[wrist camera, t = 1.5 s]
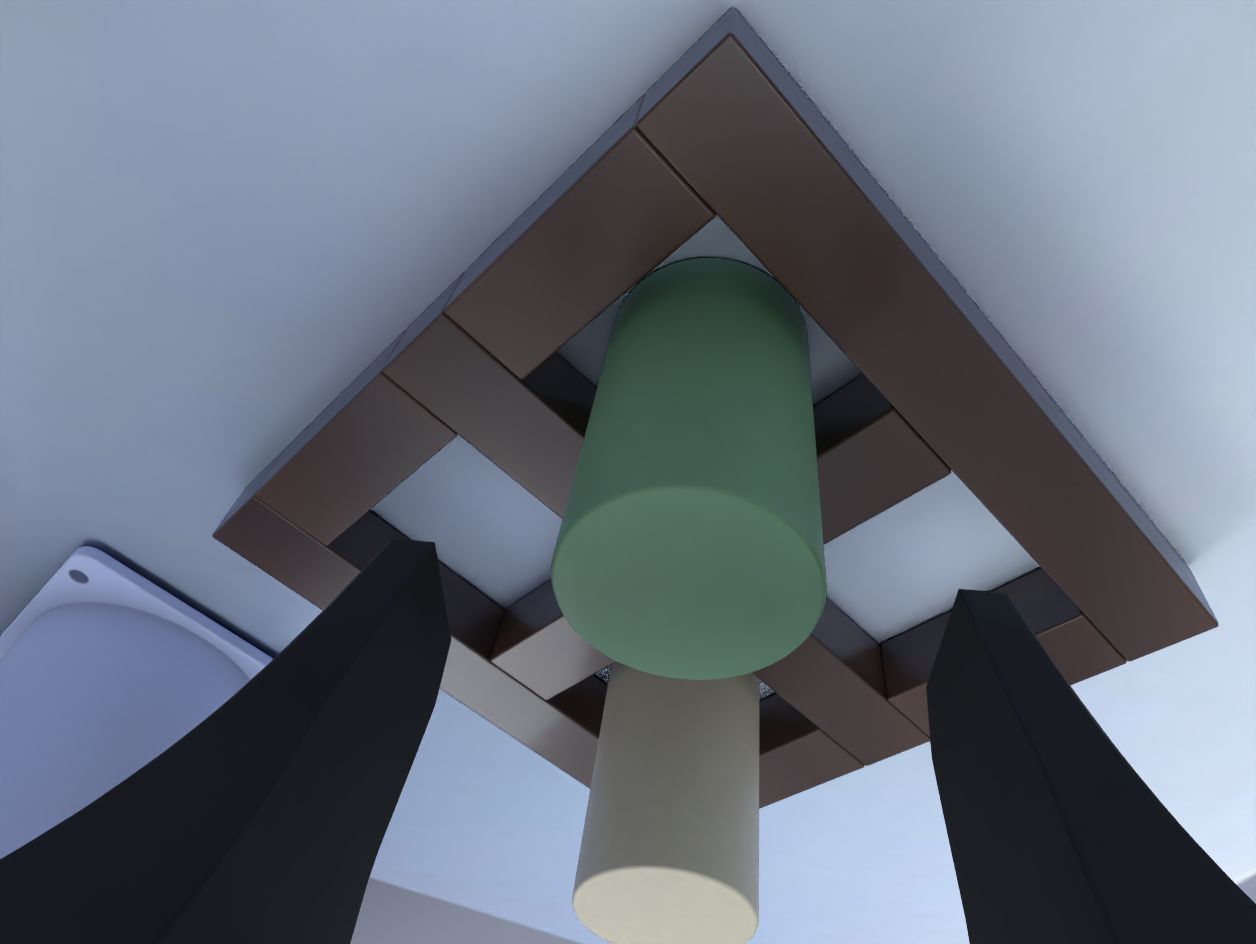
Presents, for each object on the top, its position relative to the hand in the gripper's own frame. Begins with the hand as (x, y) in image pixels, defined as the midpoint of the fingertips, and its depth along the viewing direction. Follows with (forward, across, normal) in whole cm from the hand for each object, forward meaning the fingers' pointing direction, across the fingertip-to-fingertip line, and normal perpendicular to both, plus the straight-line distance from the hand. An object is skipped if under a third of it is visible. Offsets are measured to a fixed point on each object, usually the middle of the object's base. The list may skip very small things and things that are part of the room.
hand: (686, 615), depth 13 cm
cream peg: (+8, 0, +10) cm, 12 cm away
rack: (+8, 0, +5) cm, 9 cm away
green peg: (+8, 0, 0) cm, 8 cm away
